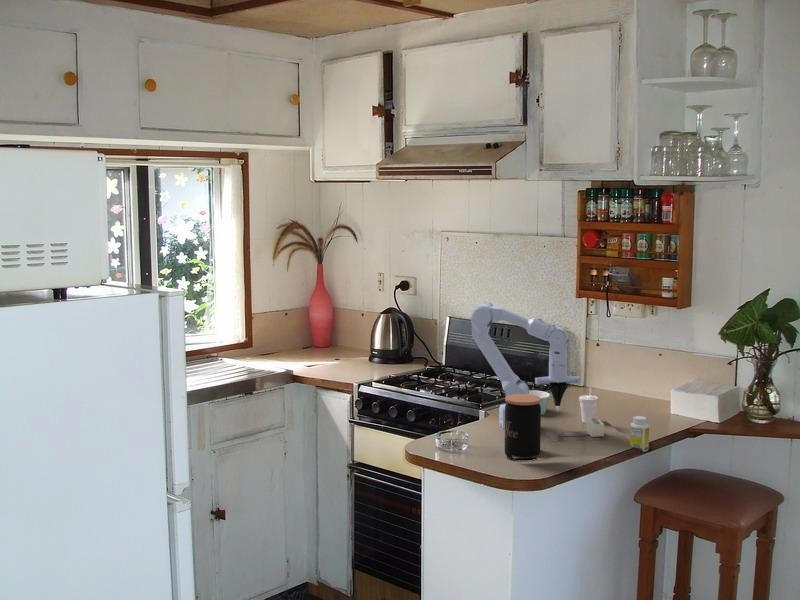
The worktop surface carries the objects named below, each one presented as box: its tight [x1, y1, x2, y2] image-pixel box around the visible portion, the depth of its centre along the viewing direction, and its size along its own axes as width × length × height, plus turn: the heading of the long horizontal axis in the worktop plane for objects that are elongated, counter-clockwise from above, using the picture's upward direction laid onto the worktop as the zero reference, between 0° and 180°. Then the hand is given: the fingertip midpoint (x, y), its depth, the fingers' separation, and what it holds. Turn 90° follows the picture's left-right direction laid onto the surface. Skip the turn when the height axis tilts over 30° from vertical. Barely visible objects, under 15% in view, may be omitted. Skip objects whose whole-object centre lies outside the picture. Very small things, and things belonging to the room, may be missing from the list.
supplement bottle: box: [629, 415, 650, 453], centre depth 280 cm, size 6×6×10 cm
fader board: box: [545, 430, 613, 443], centre depth 291 cm, size 19×10×2 cm, turn 96°
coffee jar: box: [504, 394, 542, 461], centre depth 274 cm, size 11×11×18 cm
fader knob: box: [586, 417, 605, 437], centre depth 291 cm, size 4×5×5 cm
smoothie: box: [578, 384, 599, 424], centre depth 308 cm, size 6×6×14 cm
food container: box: [529, 389, 551, 416], centre depth 327 cm, size 12×12×6 cm
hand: (557, 405), depth 298 cm, fingers closed
